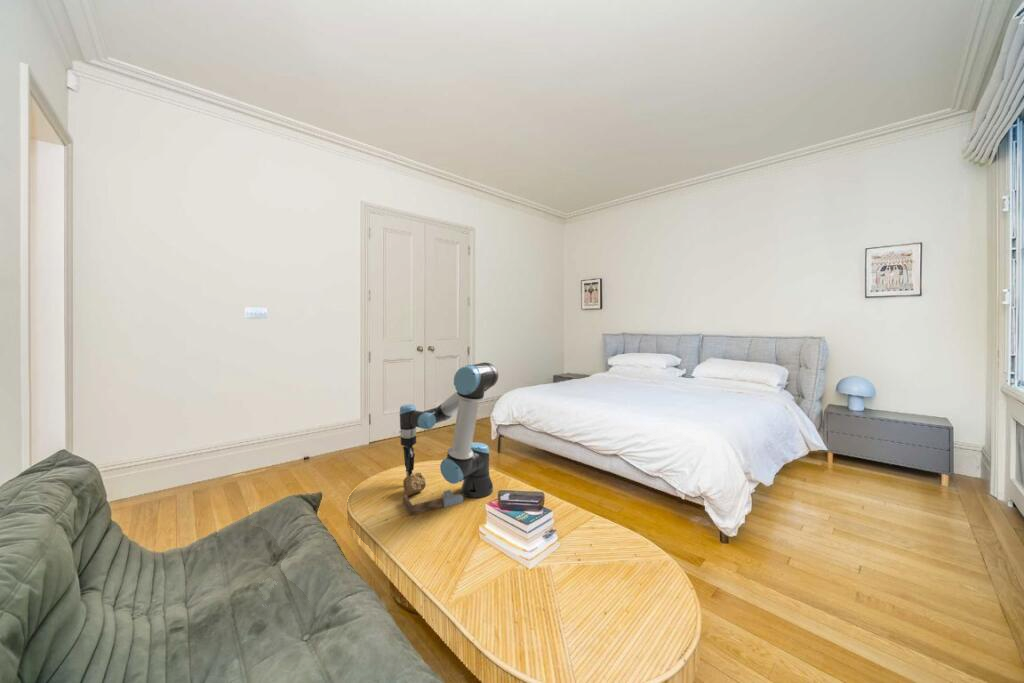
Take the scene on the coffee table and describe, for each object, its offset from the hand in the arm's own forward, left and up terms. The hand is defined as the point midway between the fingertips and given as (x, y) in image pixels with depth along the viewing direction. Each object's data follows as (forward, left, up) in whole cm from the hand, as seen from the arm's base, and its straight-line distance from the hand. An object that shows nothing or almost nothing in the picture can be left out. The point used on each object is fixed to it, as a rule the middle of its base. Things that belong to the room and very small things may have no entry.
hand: (409, 482), depth 196 cm
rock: (0, +10, -2) cm, 11 cm away
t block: (-12, +25, -2) cm, 28 cm away
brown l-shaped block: (0, +23, -2) cm, 23 cm away
